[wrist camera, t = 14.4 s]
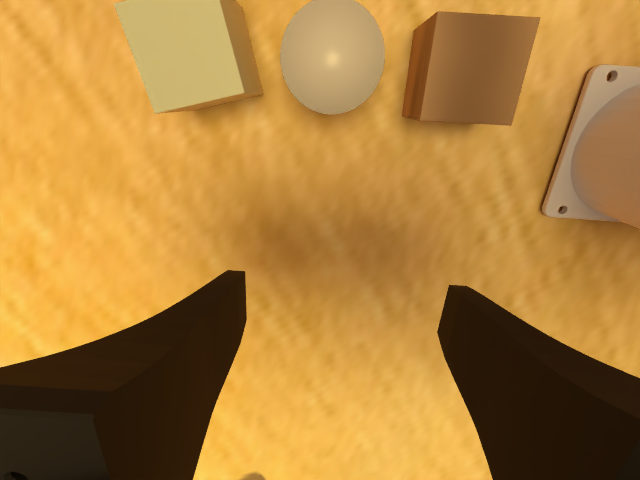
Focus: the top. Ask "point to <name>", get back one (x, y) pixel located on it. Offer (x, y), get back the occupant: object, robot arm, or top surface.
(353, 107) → the grey cylinder
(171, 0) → the sage block
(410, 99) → the walnut block
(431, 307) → the top surface
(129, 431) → the robot arm
